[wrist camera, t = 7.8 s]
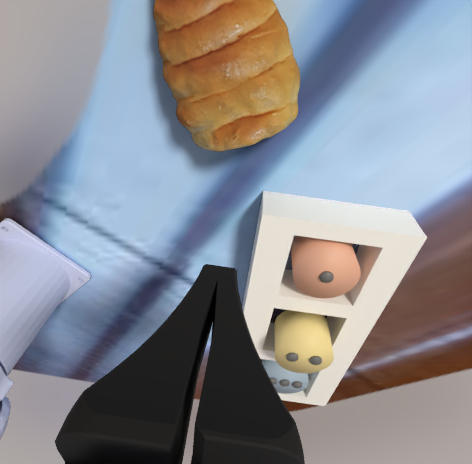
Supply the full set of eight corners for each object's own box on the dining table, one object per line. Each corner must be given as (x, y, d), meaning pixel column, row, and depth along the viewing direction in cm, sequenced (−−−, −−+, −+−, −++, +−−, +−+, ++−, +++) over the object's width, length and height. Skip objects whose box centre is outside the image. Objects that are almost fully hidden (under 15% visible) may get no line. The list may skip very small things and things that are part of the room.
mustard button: (319, 343, 27) (324, 379, 25) (270, 336, 27) (270, 371, 25) (334, 311, 25) (342, 347, 22) (279, 304, 25) (281, 338, 22)
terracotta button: (340, 273, 24) (348, 304, 22) (285, 265, 24) (287, 295, 22) (359, 228, 22) (371, 258, 19) (298, 219, 22) (301, 248, 19)
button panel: (321, 377, 34) (324, 406, 32) (231, 364, 34) (228, 392, 32) (408, 210, 21) (427, 237, 18) (263, 190, 21) (262, 214, 19)
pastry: (126, -32, 15) (90, -43, 12) (261, -103, 13) (259, -137, 10) (202, 147, 20) (190, 173, 17) (307, 114, 18) (315, 135, 15)
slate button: (299, 367, 33) (302, 398, 30) (259, 361, 33) (257, 392, 30) (310, 343, 30) (314, 375, 28) (265, 337, 30) (265, 368, 28)
